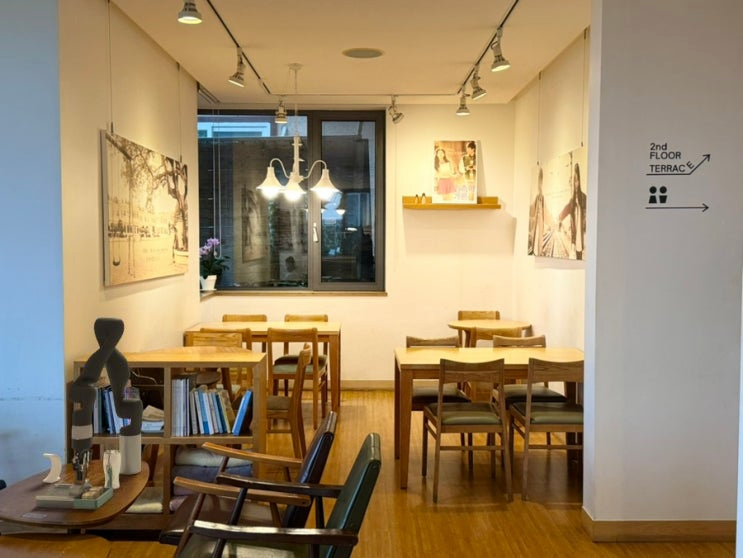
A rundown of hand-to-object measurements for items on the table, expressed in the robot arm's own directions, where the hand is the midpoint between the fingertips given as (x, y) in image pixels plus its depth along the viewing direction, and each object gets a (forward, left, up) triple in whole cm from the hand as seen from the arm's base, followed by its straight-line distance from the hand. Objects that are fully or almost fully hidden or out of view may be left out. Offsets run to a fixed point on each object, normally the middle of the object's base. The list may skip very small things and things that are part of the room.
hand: (82, 478), depth 272 cm
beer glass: (-17, +4, -9) cm, 20 cm away
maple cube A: (-3, +2, -7) cm, 8 cm away
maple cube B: (+3, +3, -7) cm, 8 cm away
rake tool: (0, -1, -5) cm, 5 cm away
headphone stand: (-23, -25, -9) cm, 35 cm away
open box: (0, -7, -9) cm, 12 cm away
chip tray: (0, +5, -9) cm, 10 cm away
